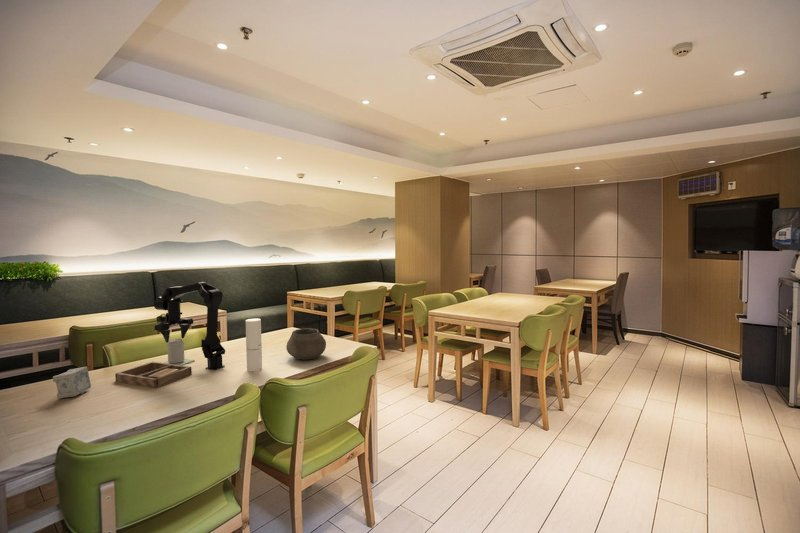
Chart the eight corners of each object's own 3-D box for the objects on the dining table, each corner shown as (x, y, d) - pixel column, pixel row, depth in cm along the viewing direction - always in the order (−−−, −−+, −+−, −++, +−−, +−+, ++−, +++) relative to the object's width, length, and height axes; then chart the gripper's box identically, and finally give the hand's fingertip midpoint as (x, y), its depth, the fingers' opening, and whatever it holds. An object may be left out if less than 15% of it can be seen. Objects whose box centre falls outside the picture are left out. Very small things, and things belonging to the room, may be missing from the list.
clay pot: (332, 359, 209) (332, 332, 208) (294, 366, 197) (293, 337, 196) (317, 350, 227) (316, 325, 226) (281, 356, 215) (280, 329, 214)
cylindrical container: (265, 367, 195) (264, 319, 193) (255, 372, 188) (254, 321, 187) (253, 366, 197) (252, 318, 196) (243, 370, 191) (242, 320, 189)
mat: (194, 361, 205) (194, 360, 205) (174, 368, 194) (174, 367, 194) (177, 359, 209) (177, 357, 209) (157, 365, 198) (157, 364, 198)
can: (177, 364, 197) (176, 341, 197) (164, 364, 199) (163, 341, 198) (187, 360, 205) (187, 338, 204) (175, 359, 206) (174, 337, 205)
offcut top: (179, 372, 182) (179, 369, 182) (161, 380, 172) (161, 376, 171) (166, 371, 183) (166, 368, 183) (148, 379, 173) (148, 376, 173)
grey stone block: (71, 390, 165) (70, 366, 165) (92, 389, 166) (90, 366, 166) (53, 399, 156) (51, 374, 155) (75, 399, 156) (73, 374, 156)
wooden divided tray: (191, 375, 184) (191, 366, 184) (156, 388, 167) (155, 379, 167) (153, 369, 192) (153, 361, 192) (115, 382, 175) (115, 373, 175)
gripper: (178, 306, 211) (179, 334, 212) (145, 312, 194) (146, 343, 195) (193, 308, 208) (194, 336, 209) (162, 314, 190) (163, 345, 191)
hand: (175, 340), depth 201 cm, fingers open, 9 cm apart
